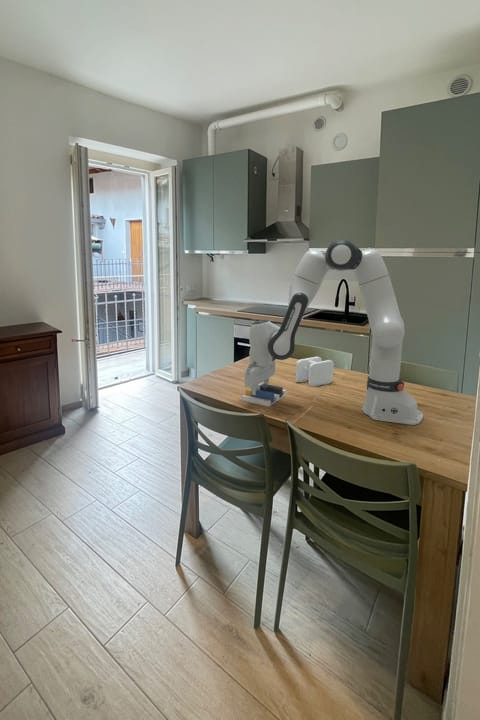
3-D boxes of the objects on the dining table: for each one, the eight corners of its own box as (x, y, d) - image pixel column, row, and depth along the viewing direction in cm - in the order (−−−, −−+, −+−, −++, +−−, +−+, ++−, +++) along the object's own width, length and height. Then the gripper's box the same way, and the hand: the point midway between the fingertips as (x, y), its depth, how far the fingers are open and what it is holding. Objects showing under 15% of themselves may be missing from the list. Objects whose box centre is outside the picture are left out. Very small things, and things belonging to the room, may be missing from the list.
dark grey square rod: (282, 396, 175) (282, 387, 174) (279, 398, 173) (279, 389, 172) (258, 391, 181) (258, 382, 180) (254, 393, 179) (255, 384, 178)
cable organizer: (308, 388, 187) (310, 364, 184) (294, 382, 196) (295, 359, 193) (333, 383, 194) (334, 360, 191) (318, 377, 203) (319, 355, 200)
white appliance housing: (285, 396, 177) (286, 389, 176) (269, 408, 164) (269, 401, 163) (259, 391, 184) (260, 384, 183) (241, 402, 171) (241, 395, 170)
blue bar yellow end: (274, 401, 169) (274, 392, 167) (270, 404, 166) (270, 395, 165) (249, 396, 175) (249, 387, 174) (245, 398, 172) (245, 389, 171)
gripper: (254, 366, 155) (254, 400, 159) (278, 355, 172) (277, 385, 176) (240, 364, 159) (240, 397, 162) (264, 353, 175) (264, 383, 179)
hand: (259, 391), depth 169 cm, fingers open, 8 cm apart
